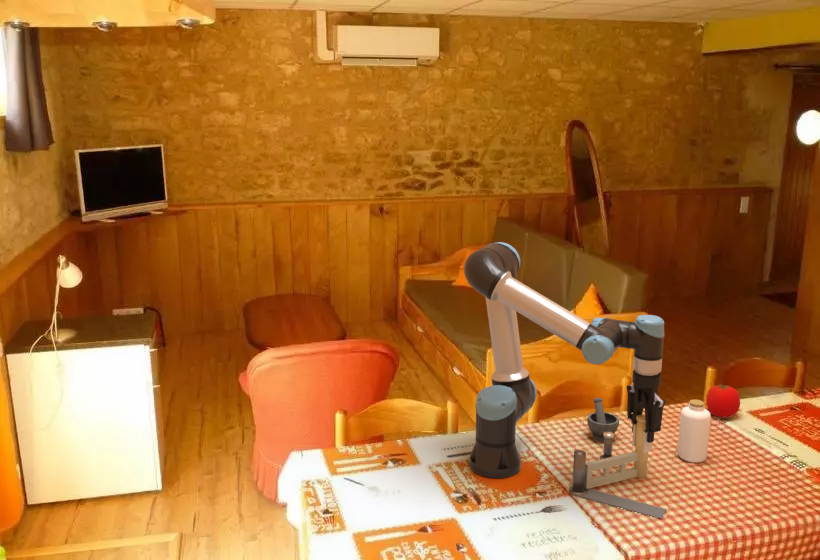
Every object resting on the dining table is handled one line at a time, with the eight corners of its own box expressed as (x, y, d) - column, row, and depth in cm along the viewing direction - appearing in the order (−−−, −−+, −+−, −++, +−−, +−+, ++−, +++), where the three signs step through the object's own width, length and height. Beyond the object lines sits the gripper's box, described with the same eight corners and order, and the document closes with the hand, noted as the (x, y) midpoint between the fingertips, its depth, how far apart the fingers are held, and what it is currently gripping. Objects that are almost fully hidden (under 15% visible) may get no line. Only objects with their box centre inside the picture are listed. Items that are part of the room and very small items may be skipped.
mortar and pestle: (622, 443, 225) (624, 408, 222) (594, 446, 224) (596, 410, 221) (608, 428, 236) (610, 394, 233) (580, 430, 235) (582, 396, 232)
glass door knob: (597, 461, 214) (599, 435, 212) (602, 455, 218) (603, 429, 216) (612, 464, 212) (614, 438, 210) (616, 458, 216) (618, 432, 214)
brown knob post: (565, 493, 197) (567, 454, 194) (571, 485, 201) (573, 446, 198) (584, 498, 194) (586, 458, 192) (590, 490, 199) (592, 450, 196)
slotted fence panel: (589, 491, 197) (592, 432, 192) (580, 484, 200) (583, 425, 196) (650, 476, 204) (655, 418, 200) (641, 469, 208) (645, 413, 203)
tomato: (744, 422, 239) (747, 392, 236) (712, 422, 239) (715, 392, 237) (730, 408, 249) (733, 380, 247) (700, 409, 249) (702, 380, 247)
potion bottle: (676, 461, 214) (681, 405, 210) (677, 449, 221) (682, 395, 217) (706, 466, 211) (712, 409, 206) (706, 453, 218) (711, 398, 214)
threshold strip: (571, 495, 196) (571, 493, 196) (577, 486, 201) (577, 485, 200) (661, 519, 184) (661, 518, 184) (666, 510, 189) (666, 509, 188)
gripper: (679, 379, 191) (673, 458, 197) (637, 359, 206) (633, 433, 212) (657, 383, 189) (651, 464, 194) (616, 363, 204) (612, 438, 209)
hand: (641, 447), depth 203 cm, fingers closed on slotted fence panel, 4 cm apart
